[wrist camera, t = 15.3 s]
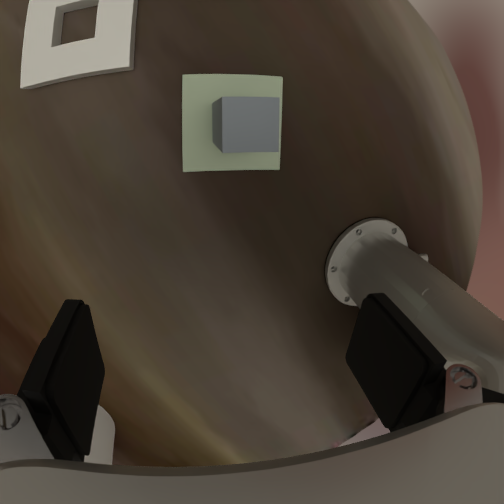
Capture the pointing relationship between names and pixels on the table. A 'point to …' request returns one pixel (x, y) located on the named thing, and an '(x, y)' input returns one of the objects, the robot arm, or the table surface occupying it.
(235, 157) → the sage mat
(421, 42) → the table surface
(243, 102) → the slate plug
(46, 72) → the white square hole board
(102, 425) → the grey stepped cylindrical piece
